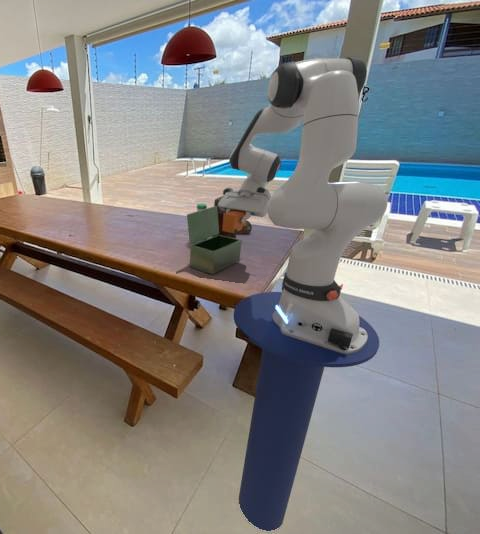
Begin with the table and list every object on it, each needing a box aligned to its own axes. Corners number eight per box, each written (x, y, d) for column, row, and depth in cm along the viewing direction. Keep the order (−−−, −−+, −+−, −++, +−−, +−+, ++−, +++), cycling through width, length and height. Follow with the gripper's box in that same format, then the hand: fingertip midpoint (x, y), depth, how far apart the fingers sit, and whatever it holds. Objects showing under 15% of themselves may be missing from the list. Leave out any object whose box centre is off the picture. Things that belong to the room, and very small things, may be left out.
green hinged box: (239, 261, 134) (241, 240, 131) (212, 274, 123) (214, 251, 120) (216, 254, 143) (218, 234, 139) (189, 266, 132) (190, 245, 128)
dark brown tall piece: (237, 241, 157) (244, 186, 145) (227, 248, 149) (233, 190, 137) (221, 238, 162) (226, 184, 150) (210, 244, 155) (215, 188, 143)
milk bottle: (189, 243, 159) (190, 205, 151) (197, 239, 164) (199, 202, 155) (202, 246, 154) (204, 207, 146) (210, 242, 159) (213, 204, 150)
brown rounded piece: (221, 234, 169) (222, 220, 166) (221, 232, 172) (222, 218, 168) (250, 236, 165) (252, 221, 161) (250, 234, 167) (252, 219, 164)
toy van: (245, 230, 126) (247, 211, 123) (233, 235, 121) (235, 215, 118) (234, 228, 130) (236, 209, 127) (221, 233, 125) (223, 213, 122)
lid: (217, 205, 135) (215, 206, 136) (188, 214, 124) (186, 214, 125) (219, 233, 139) (217, 233, 139) (191, 244, 127) (189, 244, 128)
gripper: (224, 185, 130) (209, 213, 129) (272, 190, 115) (255, 221, 114) (229, 194, 134) (214, 221, 133) (276, 200, 120) (260, 230, 118)
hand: (233, 221), depth 123 cm, fingers closed on toy van, 5 cm apart
